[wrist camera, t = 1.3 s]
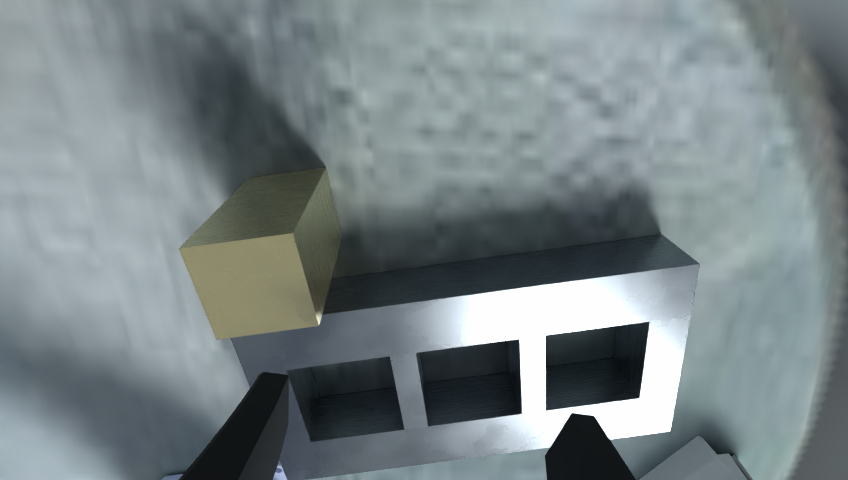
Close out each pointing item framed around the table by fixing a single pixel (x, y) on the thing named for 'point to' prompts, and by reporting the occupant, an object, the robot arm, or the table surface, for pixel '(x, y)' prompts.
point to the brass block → (267, 255)
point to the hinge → (698, 465)
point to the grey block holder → (479, 324)
